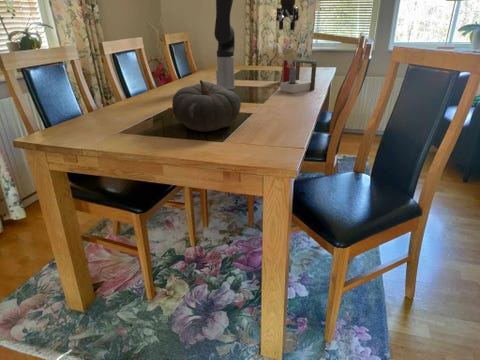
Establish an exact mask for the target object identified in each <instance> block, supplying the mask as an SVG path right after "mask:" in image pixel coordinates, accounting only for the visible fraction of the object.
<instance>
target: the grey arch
mask: <svg viewBox="0 0 480 360" xmlns="http://www.w3.org/2000/svg"><path fill="white" fill-rule="evenodd" d="M293 62H295V67H296V80H300V72H301V71H300V70H301V64H307V65H311V73H310V74H311V75H310V82H311V85H310V90H309V91H311V92H312V91H315V89H316V87H315V86H316V73H317V63H318V61H317V60H314V59H313V60H312V59H304V58H294V59H293Z"/></svg>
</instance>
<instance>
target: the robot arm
mask: <svg viewBox="0 0 480 360" xmlns="http://www.w3.org/2000/svg"><path fill="white" fill-rule="evenodd" d="M233 2H234V0H215V8H216V10H215V11H216V12H215V24H214V38H215V40H216V41H217V44H218V45H217V50H216V63H217V64H216V65H217V68H216V69H217V70H216V72H215V73H216V74H215V75H216V76H215V77H216V85H220V86H222V87H224V88H226V89H228V90H233V89H235V88H236V87H235V60H234V59H235V54H234V52H235V45H236V44H235V42H236V41H235V30H234V28H233V27H232V25H231V11H232V7H233ZM279 2H280V3H279V4H280V7H276V18H275V19H276V21H277V22H278V30H279V31H280V30H281V31H283V30H284V21H285V19H286V18H288V19H289V20H290V24H289V25H290V26H289V27H290V29H289V30H290V31H295V27H296V22H297V21H299V10H300V9H299V7H294V6H295V5H296V0H279Z"/></svg>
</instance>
